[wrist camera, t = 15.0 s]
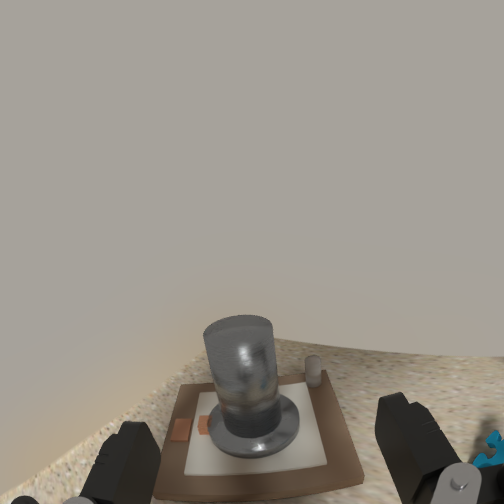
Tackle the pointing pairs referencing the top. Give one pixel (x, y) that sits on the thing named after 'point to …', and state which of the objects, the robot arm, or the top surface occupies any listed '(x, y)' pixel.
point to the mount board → (267, 468)
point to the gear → (500, 457)
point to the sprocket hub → (247, 390)
